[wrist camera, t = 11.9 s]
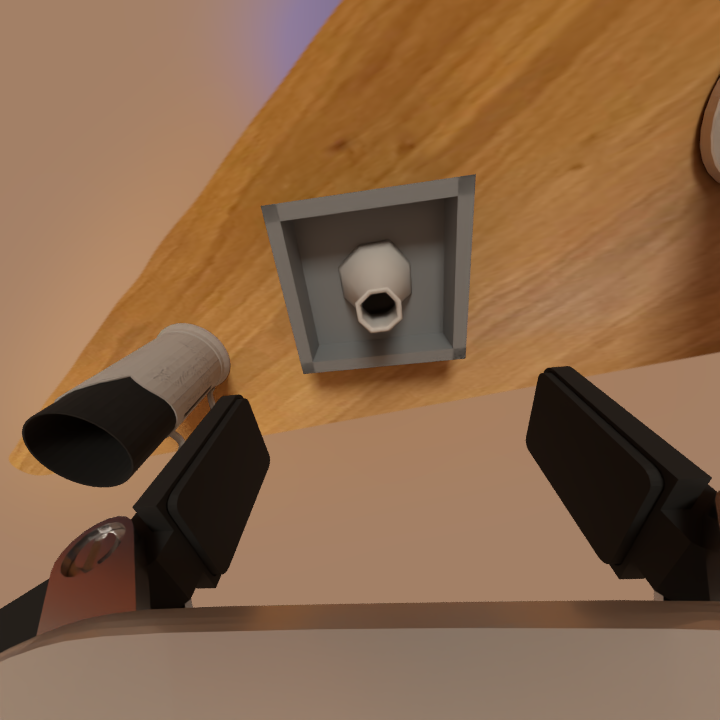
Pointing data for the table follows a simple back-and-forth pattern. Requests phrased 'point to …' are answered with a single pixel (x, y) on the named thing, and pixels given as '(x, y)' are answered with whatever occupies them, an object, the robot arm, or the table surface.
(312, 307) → the charcoal box
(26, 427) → the grey mug
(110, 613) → the robot arm
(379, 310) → the flask
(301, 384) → the table surface
